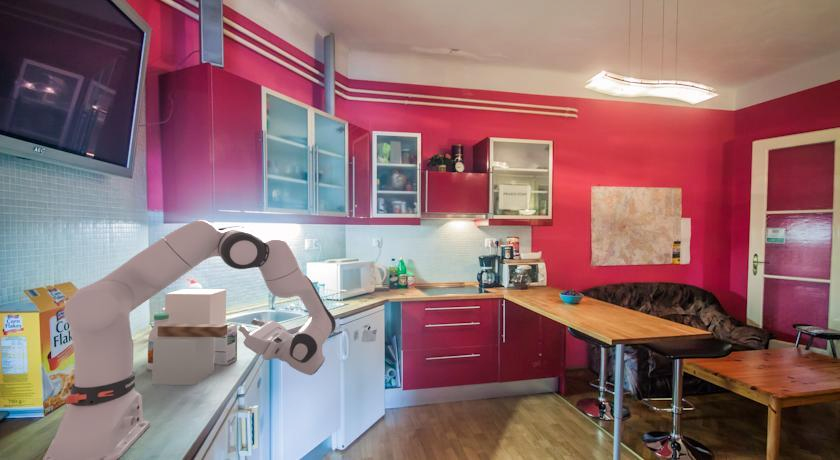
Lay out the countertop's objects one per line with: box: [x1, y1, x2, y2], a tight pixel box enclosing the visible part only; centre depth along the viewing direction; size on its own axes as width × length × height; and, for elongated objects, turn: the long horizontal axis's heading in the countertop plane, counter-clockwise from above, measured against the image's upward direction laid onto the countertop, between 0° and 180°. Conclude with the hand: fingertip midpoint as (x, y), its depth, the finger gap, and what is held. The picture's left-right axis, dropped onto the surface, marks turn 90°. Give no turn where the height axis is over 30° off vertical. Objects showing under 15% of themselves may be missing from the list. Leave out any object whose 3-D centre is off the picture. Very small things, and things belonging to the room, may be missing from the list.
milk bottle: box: [147, 312, 169, 372], centre depth 131 cm, size 8×8×20 cm
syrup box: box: [214, 323, 238, 366], centre depth 137 cm, size 6×6×14 cm
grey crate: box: [151, 337, 215, 386], centre depth 122 cm, size 14×11×15 cm
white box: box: [164, 288, 227, 324], centre depth 147 cm, size 18×12×26 cm, turn 91°
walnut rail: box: [158, 323, 228, 337], centre depth 122 cm, size 22×4×4 cm, turn 91°
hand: (246, 323), depth 122 cm, fingers open, 8 cm apart
